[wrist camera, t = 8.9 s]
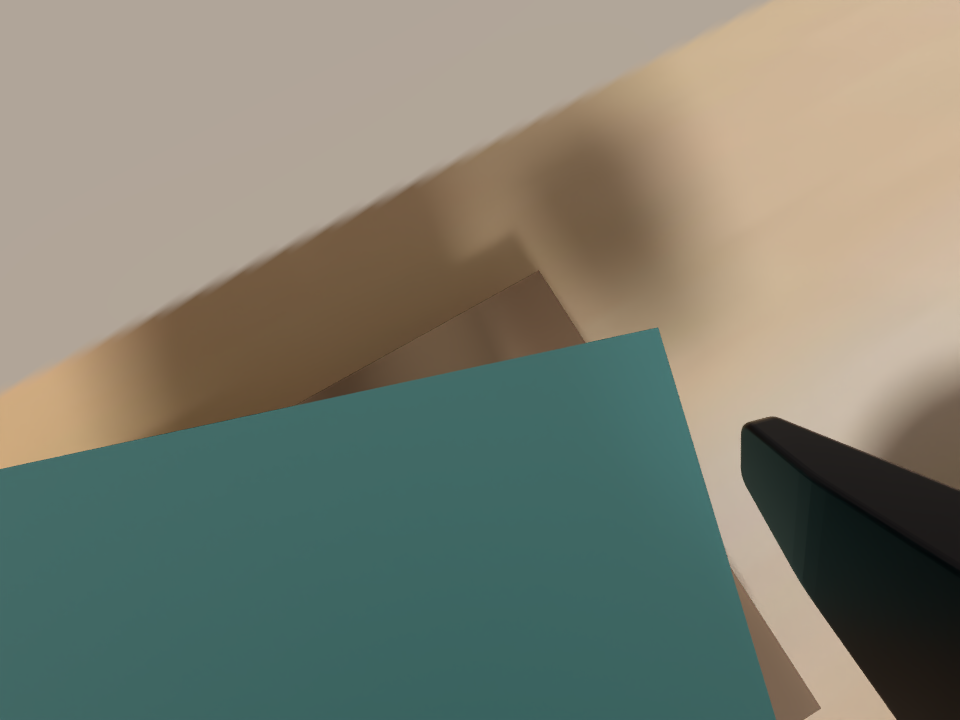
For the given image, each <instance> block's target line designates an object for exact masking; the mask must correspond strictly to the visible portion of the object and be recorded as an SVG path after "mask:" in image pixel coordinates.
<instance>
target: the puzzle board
mask: <svg viewBox="0 0 960 720" xmlns="http://www.w3.org/2000/svg"><path fill="white" fill-rule="evenodd" d="M584 343H585V341H584V340H583V338H582V337H581V335H580V334H579V332H578V331H577V329H576V327H575V326H574V324H573V323H572V321H571V320H570V318H569V317H568V315H567V313H566V312H565V310H564V309H563V307H562V306H561V304H560V303H559V301H558V300H557V298H556V296H555V295H554V293H553V292H552V290H551V289H550V287H549V286H548V284H547V282H546V281H545V279H544V278H543V276H542V275H541V273H540V272H539V271H537V272H535V273H533V274H532V275H530V276H528V277H526V278H524V279H523V280H521V281H519V282H517V283H515V284H514V285H512V286H510V287H508V288H506V289H505V290H503V291H501V292H499V293H497V294H495V295H494V296H492V297H490V298H488V299H486V300H485V301H483V302H481V303H479V304H477V305H476V306H474V307H472V308H470V309H468V310H467V311H465V312H463V313H461V314H459V315H458V316H456V317H454V318H452V319H450V320H449V321H447V322H445V323H443V324H441V325H440V326H438V327H436V328H434V329H432V330H431V331H429V332H427V333H425V334H423V335H421V336H420V337H418V338H416V339H414V340H412V341H411V342H409V343H407V344H405V345H403V346H402V347H400V348H398V349H396V350H394V351H393V352H391V353H389V354H387V355H385V356H384V357H382V358H380V359H378V360H376V361H375V362H373V363H371V364H369V365H367V366H366V367H364V368H362V369H360V370H358V371H356V372H355V373H353V374H351V375H349V376H347V377H346V378H344V379H342V380H340V381H338V382H337V383H335V384H333V385H331V386H329V387H328V388H326V389H324V390H322V391H320V392H319V393H317V394H315V395H313V396H311V397H310V398H308V399H306V400H304V401H302V402H301V403H299V404H297V405H301V404H305V403H310V402H315V401H319V400H324V399H329V398H333V397H338V396H342V395H347V394H352V393H356V392H361V391H366V390H370V389H375V388H380V387H384V386H389V385H394V384H398V383H403V382H407V381H412V380H417V379H421V378H426V377H431V376H435V375H440V374H445V373H449V372H454V371H458V370H463V369H468V368H472V367H477V366H482V365H486V364H491V363H496V362H500V361H505V360H510V359H514V358H519V357H523V356H528V355H533V354H537V353H542V352H547V351H551V350H556V349H561V348H565V347H570V346H575V345H579V344H584ZM295 406H296V405H295ZM731 571H732V569H731ZM732 575H733V578H734V581H735V585H736V588H737V591H738V595H739V598H740V601H741V605H742V608H743V611H744V615H745V618H746V621H747V625H748V628H749V631H750V634H751V638H752V641H753V644H754V648H755V651H756V654H757V658H758V661H759V664H760V668H761V671H762V674H763V678H764V681H765V684H766V688H767V691H768V694H769V698H770V701H771V704H772V708H773V711H774V714H775V718H776V720H804V719H805V718H807V717H808V716H810V715H812V714H813V713H815V712H816V711H818V710H819V709H821V707H820V706H819V704H818V703H817V701H816V700H815V698H814V697H813V695H812V693H811V692H810V690H809V689H808V687H807V686H806V684H805V683H804V681H803V679H802V678H801V676H800V675H799V673H798V672H797V670H796V669H795V667H794V665H793V664H792V662H791V661H790V659H789V658H788V656H787V655H786V653H785V652H784V650H783V648H782V647H781V645H780V644H779V642H778V641H777V639H776V638H775V636H774V634H773V633H772V631H771V630H770V628H769V627H768V625H767V624H766V622H765V621H764V619H763V617H762V616H761V614H760V613H759V611H758V610H757V608H756V607H755V605H754V603H753V602H752V600H751V599H750V597H749V596H748V594H747V593H746V591H745V590H744V588H743V586H742V585H741V583H740V582H739V580H738V579H737V577H736V576H735V574H734V572H733V571H732Z"/></svg>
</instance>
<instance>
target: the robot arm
mask: <svg viewBox="0 0 960 720" xmlns="http://www.w3.org/2000/svg"><path fill="white" fill-rule="evenodd" d="M741 473H742V477H743V480H744V483H745V485H746V487H747V489H748V491H749V492H750V494H751V496H752V498H753V500H754V501H755V503H756V505H757V507H758V508H759V510H760V512H761V514H762V516H763V517H764V519H765V521H766V523H767V525H768V526H769V528H770V530H771V532H772V533H773V535H774V537H775V539H776V541H777V542H778V544H779V546H780V548H781V550H782V551H783V553H784V555H785V557H786V558H787V560H788V562H789V564H790V566H791V567H792V569H793V571H794V573H795V574H796V576H797V578H798V579H799V581H800V583H801V584H802V586H803V587H804V589H805V590H806V592H807V593H808V595H809V596H810V598H811V599H812V601H813V602H814V604H815V605H816V607H817V608H818V609H819V611H820V612H821V614H822V615H823V616H824V618H825V619H826V621H827V622H828V623H829V625H830V626H831V628H832V629H833V631H834V632H835V633H836V635H837V636H838V638H839V639H840V640H841V642H842V643H843V645H844V646H845V647H846V649H847V650H848V652H849V653H850V655H851V656H852V657H853V659H854V660H855V662H856V663H857V664H858V666H859V667H860V669H861V670H862V671H863V673H864V674H865V676H866V677H867V679H868V680H869V681H870V683H871V684H872V686H873V687H874V688H875V690H876V691H877V693H878V694H879V695H880V697H881V698H882V700H883V701H884V703H885V704H886V705H887V707H888V708H889V710H890V711H891V712H892V714H893V715H894V717H895V718H896V720H960V490H958V489H955V488H953V487H950V486H948V485H945V484H943V483H940V482H938V481H935V480H933V479H930V478H928V477H925V476H923V475H921V474H918V473H916V472H913V471H911V470H908V469H906V468H903V467H901V466H898V465H896V464H893V463H891V462H888V461H886V460H883V459H881V458H878V457H876V456H873V455H871V454H868V453H866V452H863V451H861V450H858V449H856V448H853V447H851V446H848V445H846V444H843V443H841V442H838V441H836V440H833V439H831V438H828V437H826V436H823V435H821V434H818V433H816V432H813V431H811V430H808V429H806V428H803V427H801V426H798V425H796V424H793V423H791V422H788V421H786V420H783V419H781V418H778V417H766V418H762V419H759V420H755V421H751V422H748V423H746V424H744V426H743V427H742V431H741Z"/></svg>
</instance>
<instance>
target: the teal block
mask: <svg viewBox="0 0 960 720" xmlns="http://www.w3.org/2000/svg"><path fill="white" fill-rule="evenodd" d="M0 720H776V718H775V714H774V711H773V708H772V704H771V701H770V698H769V694H768V691H767V688H766V684H765V681H764V678H763V674H762V671H761V668H760V664H759V661H758V658H757V654H756V651H755V648H754V644H753V641H752V638H751V634H750V631H749V628H748V625H747V621H746V618H745V615H744V611H743V608H742V605H741V601H740V598H739V595H738V591H737V588H736V585H735V581H734V578H733V575H732V571H731V568H730V565H729V561H728V558H727V555H726V551H725V548H724V545H723V541H722V538H721V535H720V532H719V528H718V525H717V522H716V518H715V515H714V512H713V508H712V505H711V502H710V498H709V495H708V492H707V488H706V485H705V482H704V478H703V475H702V472H701V468H700V465H699V462H698V458H697V455H696V452H695V448H694V445H693V442H692V439H691V435H690V432H689V429H688V425H687V422H686V419H685V415H684V412H683V409H682V405H681V402H680V399H679V395H678V392H677V389H676V385H675V382H674V379H673V375H672V372H671V369H670V365H669V362H668V359H667V355H666V352H665V349H664V346H663V342H662V339H661V336H660V332H659V329H658V328H653V329H649V330H644V331H639V332H635V333H630V334H626V335H621V336H616V337H612V338H607V339H602V340H598V341H593V342H588V343H584V344H579V345H575V346H570V347H565V348H561V349H556V350H551V351H547V352H542V353H537V354H533V355H528V356H523V357H519V358H514V359H510V360H505V361H500V362H496V363H491V364H486V365H482V366H477V367H472V368H468V369H463V370H458V371H454V372H449V373H445V374H440V375H435V376H431V377H426V378H421V379H417V380H412V381H407V382H403V383H398V384H394V385H389V386H384V387H380V388H375V389H370V390H366V391H361V392H356V393H352V394H347V395H342V396H338V397H333V398H329V399H324V400H319V401H315V402H310V403H305V404H301V405H296V406H291V407H287V408H282V409H277V410H273V411H268V412H264V413H259V414H254V415H250V416H245V417H240V418H236V419H231V420H226V421H222V422H217V423H213V424H208V425H203V426H199V427H194V428H189V429H185V430H180V431H175V432H171V433H166V434H161V435H157V436H152V437H148V438H143V439H138V440H134V441H129V442H124V443H120V444H115V445H110V446H106V447H101V448H96V449H92V450H87V451H83V452H78V453H73V454H69V455H64V456H59V457H55V458H50V459H45V460H41V461H36V462H32V463H27V464H22V465H18V466H13V467H8V468H4V469H0Z"/></svg>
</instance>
